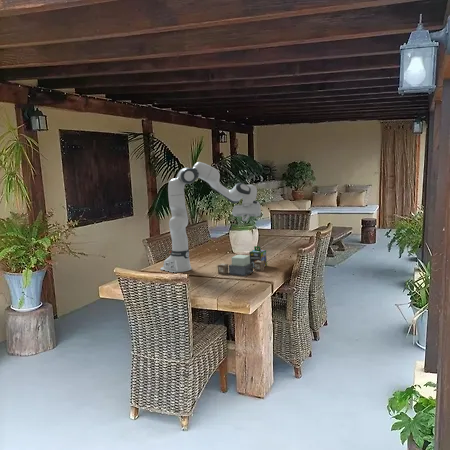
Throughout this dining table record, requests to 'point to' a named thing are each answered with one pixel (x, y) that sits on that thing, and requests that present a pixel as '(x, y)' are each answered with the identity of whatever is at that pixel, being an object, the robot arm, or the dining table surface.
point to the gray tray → (241, 269)
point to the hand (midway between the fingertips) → (244, 220)
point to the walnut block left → (223, 269)
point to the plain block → (240, 260)
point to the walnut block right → (258, 265)
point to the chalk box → (258, 256)
